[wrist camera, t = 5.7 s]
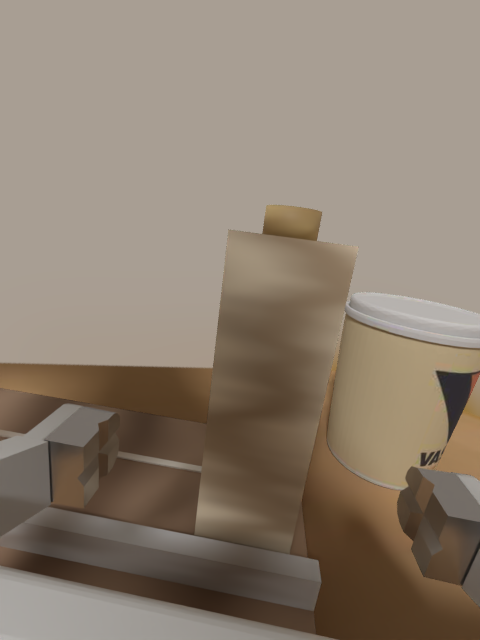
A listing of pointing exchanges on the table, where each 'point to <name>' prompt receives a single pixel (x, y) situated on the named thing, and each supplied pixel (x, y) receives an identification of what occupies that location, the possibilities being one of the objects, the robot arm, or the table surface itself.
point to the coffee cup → (400, 384)
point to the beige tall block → (270, 376)
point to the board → (155, 528)
